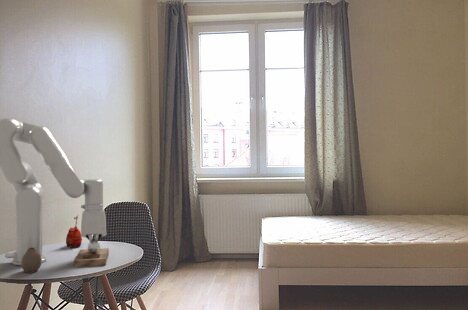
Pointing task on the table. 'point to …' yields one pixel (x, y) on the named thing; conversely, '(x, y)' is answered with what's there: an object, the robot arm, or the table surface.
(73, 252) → the table surface
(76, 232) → the red clay folk toy
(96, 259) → the board
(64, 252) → the table surface
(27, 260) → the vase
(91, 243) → the ball
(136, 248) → the table surface
